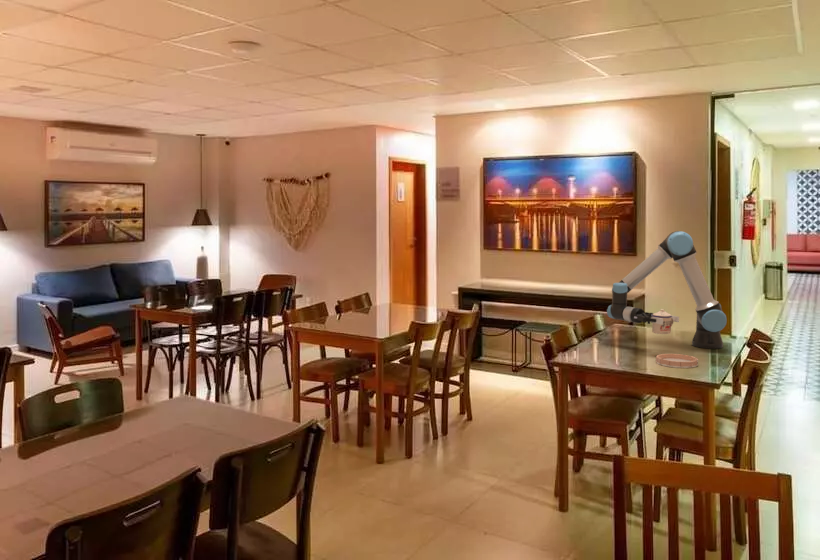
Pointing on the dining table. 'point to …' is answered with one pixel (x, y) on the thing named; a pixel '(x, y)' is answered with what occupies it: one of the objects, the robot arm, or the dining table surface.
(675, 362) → the round tray
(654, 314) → the teacup with lid
